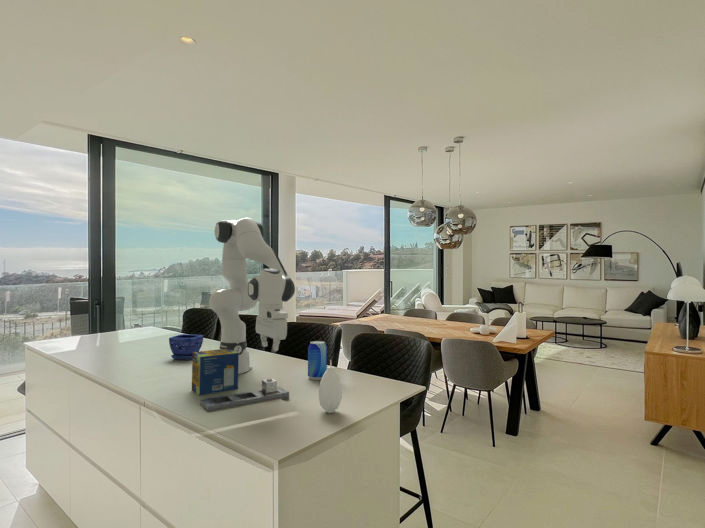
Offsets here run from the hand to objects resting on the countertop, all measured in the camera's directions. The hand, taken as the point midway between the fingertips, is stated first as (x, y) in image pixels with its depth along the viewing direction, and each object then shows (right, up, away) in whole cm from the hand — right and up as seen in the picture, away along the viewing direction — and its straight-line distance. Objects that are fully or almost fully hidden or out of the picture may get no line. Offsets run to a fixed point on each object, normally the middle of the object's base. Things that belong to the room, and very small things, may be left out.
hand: (269, 348), depth 154 cm
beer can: (+15, -20, +30) cm, 39 cm away
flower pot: (-58, -19, +66) cm, 90 cm away
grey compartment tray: (-7, -19, -6) cm, 21 cm away
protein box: (-23, -19, +8) cm, 31 cm away
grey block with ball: (0, -18, 0) cm, 18 cm away
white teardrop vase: (+23, -19, -14) cm, 33 cm away
